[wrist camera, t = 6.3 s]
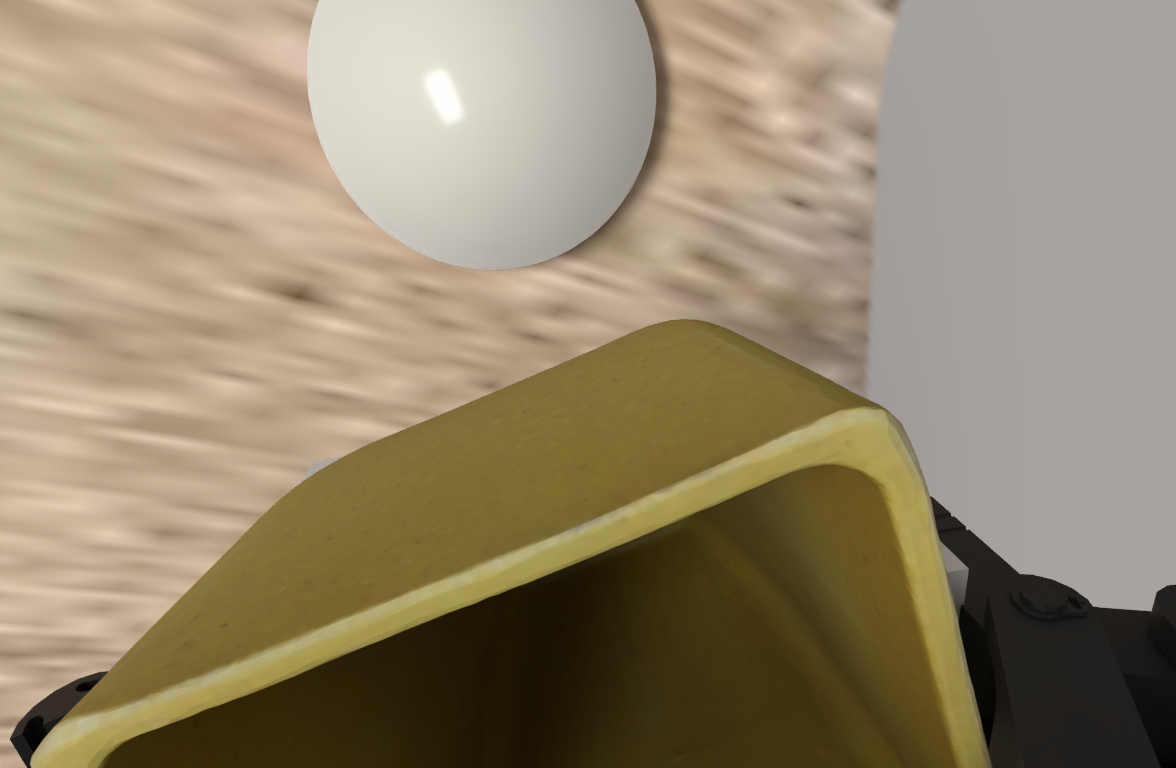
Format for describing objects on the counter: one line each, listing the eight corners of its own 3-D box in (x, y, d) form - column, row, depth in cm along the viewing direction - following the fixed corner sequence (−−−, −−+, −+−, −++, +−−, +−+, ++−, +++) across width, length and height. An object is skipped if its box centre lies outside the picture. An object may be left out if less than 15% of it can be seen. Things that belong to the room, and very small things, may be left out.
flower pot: (479, 667, 17) (442, 1161, 9) (301, 396, 14) (-11, 771, 6) (783, 543, 17) (1042, 942, 9) (671, 234, 14) (910, 388, 5)
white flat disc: (664, 241, 30) (670, 244, 29) (364, 287, 29) (358, 292, 28) (632, -117, 25) (637, -130, 24) (271, -74, 24) (259, -86, 23)
